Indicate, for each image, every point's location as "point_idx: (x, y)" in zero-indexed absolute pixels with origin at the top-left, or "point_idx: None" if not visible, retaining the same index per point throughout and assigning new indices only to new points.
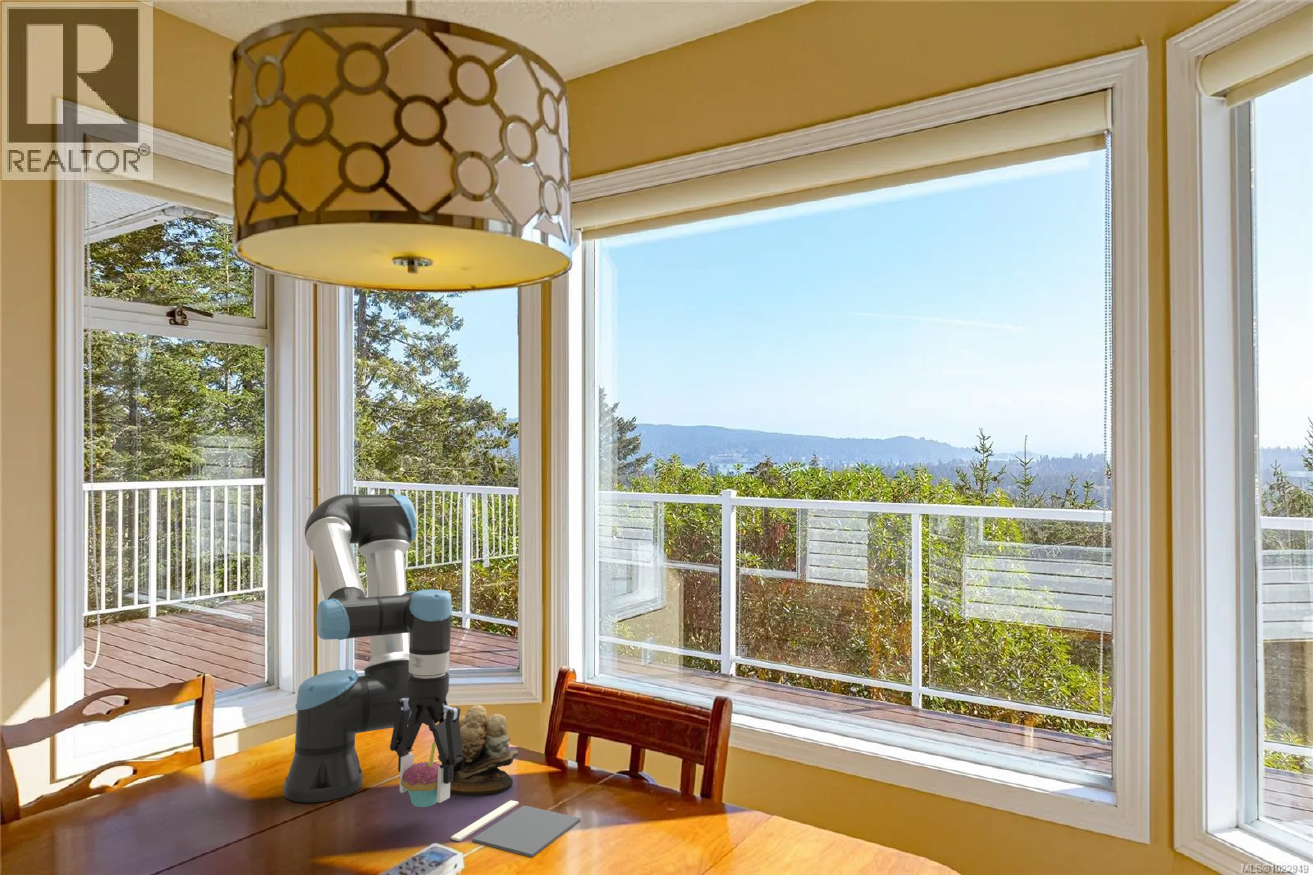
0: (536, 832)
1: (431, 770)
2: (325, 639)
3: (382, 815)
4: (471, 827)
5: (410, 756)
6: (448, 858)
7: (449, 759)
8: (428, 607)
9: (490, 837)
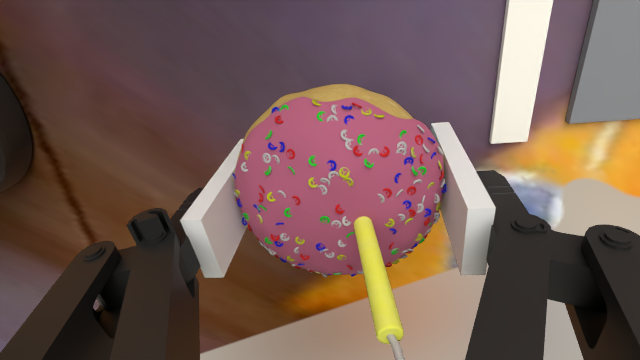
0: None
1: (395, 237)
2: None
3: (205, 133)
4: (519, 63)
5: (211, 234)
6: (548, 212)
7: (569, 313)
8: None
9: (633, 87)
